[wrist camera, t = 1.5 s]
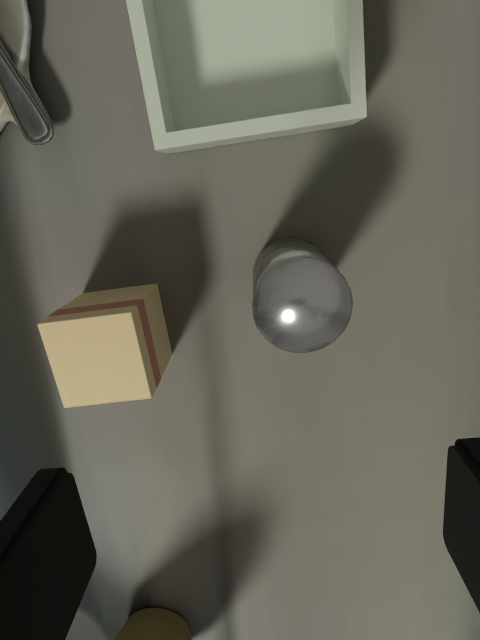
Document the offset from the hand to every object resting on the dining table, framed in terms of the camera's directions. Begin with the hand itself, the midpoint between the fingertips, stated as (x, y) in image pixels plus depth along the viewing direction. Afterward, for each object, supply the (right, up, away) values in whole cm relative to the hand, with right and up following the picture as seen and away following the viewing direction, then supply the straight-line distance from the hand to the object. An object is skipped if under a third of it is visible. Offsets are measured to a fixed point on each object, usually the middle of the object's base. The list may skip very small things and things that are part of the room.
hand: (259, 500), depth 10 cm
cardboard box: (-8, +4, +17) cm, 19 cm away
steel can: (+3, +7, +16) cm, 18 cm away
